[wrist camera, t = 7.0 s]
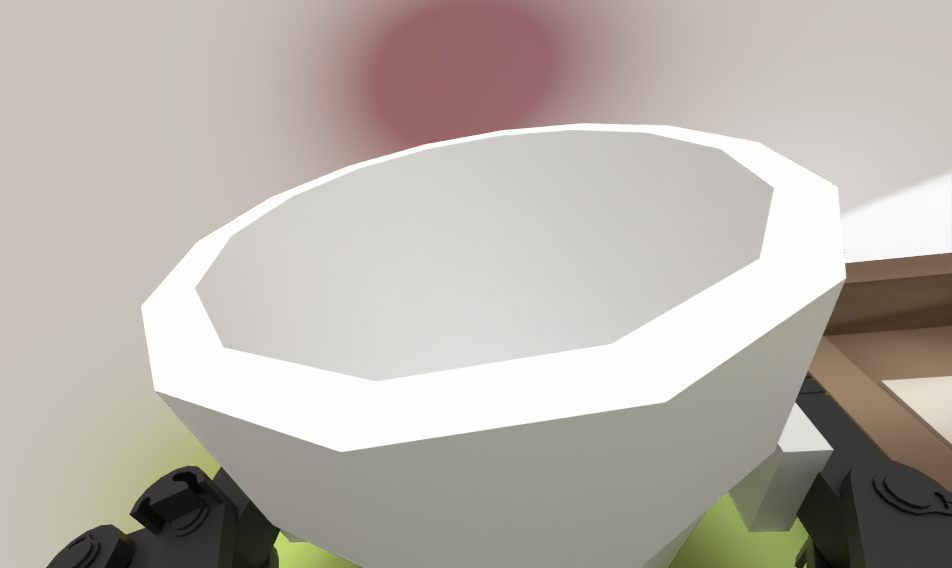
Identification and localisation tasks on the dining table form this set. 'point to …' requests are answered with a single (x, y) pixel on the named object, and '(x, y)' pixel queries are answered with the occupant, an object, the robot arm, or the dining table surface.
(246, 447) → the foam cup
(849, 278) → the tray
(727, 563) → the dining table surface
